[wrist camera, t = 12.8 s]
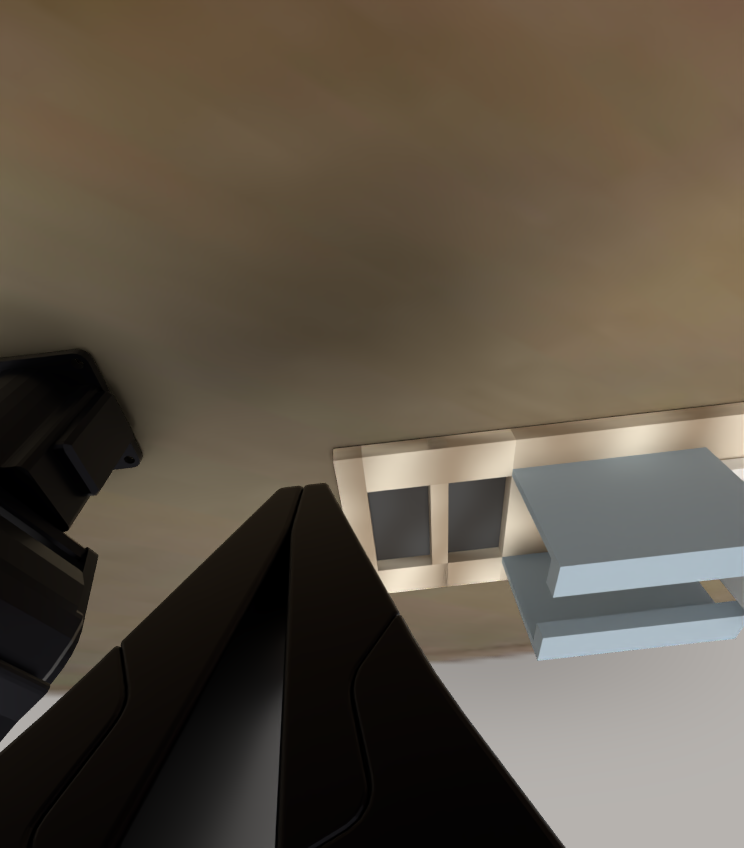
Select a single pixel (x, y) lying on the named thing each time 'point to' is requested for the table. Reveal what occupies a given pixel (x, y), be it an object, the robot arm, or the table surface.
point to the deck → (492, 488)
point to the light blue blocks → (629, 553)
